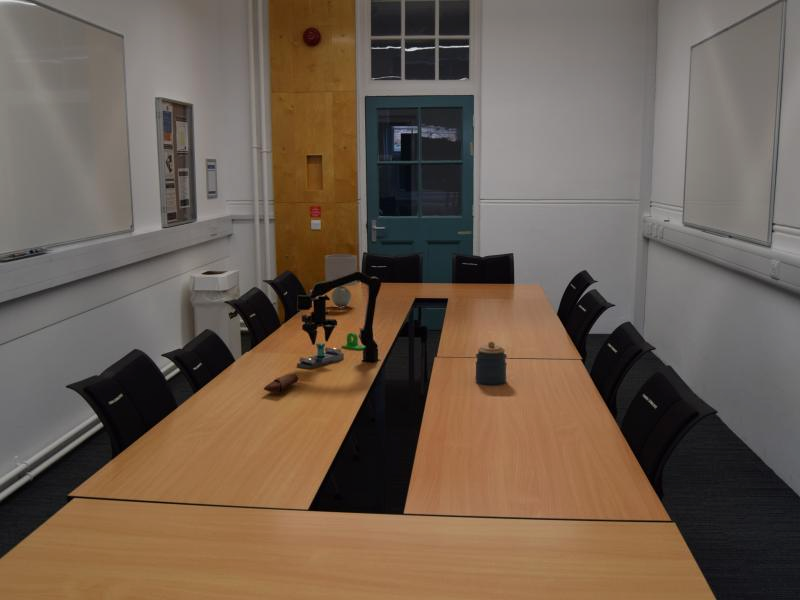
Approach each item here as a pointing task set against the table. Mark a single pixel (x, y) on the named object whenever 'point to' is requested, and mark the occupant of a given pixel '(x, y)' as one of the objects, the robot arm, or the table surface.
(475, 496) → the table surface
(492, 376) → the canister
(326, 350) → the plate
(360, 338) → the robot arm
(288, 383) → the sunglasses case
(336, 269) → the lamp
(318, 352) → the pin
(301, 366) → the lower chain end
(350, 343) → the mechanical part
